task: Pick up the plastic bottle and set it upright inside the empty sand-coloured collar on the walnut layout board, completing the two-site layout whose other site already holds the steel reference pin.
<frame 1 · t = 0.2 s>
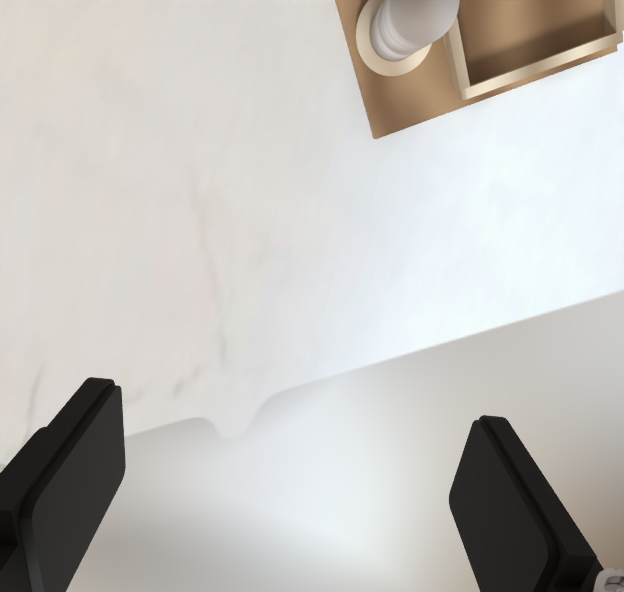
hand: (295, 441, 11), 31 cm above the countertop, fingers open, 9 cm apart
layout board: (470, 5, 34), on the countertop
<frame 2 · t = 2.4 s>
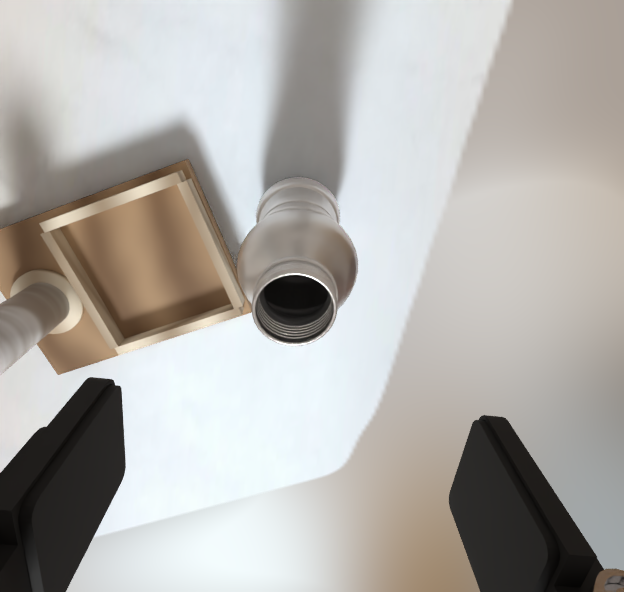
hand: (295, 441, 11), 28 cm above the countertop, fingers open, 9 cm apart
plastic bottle: (298, 210, 37), on the countertop
layout board: (120, 273, 39), on the countertop
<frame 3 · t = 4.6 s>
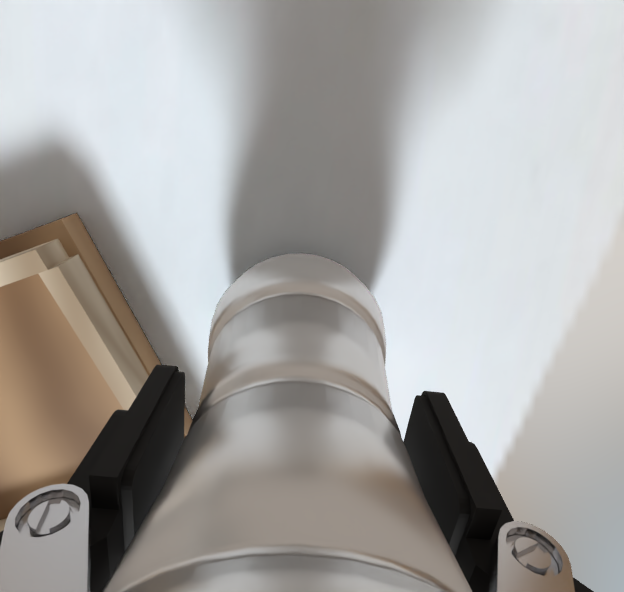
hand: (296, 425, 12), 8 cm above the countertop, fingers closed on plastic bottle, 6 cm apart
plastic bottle: (299, 307, 19), on the countertop, touching gripper
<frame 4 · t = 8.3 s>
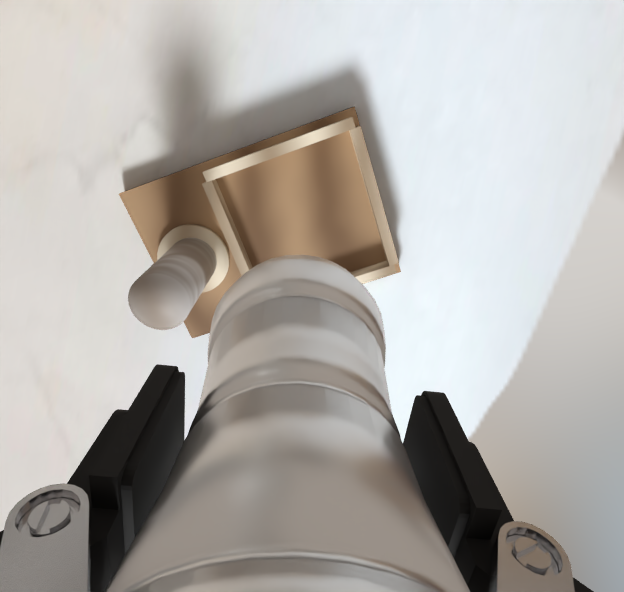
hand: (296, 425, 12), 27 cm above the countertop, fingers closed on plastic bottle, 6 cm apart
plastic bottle: (299, 309, 19), point 19 cm above the countertop, touching gripper
layout board: (266, 230, 38), on the countertop
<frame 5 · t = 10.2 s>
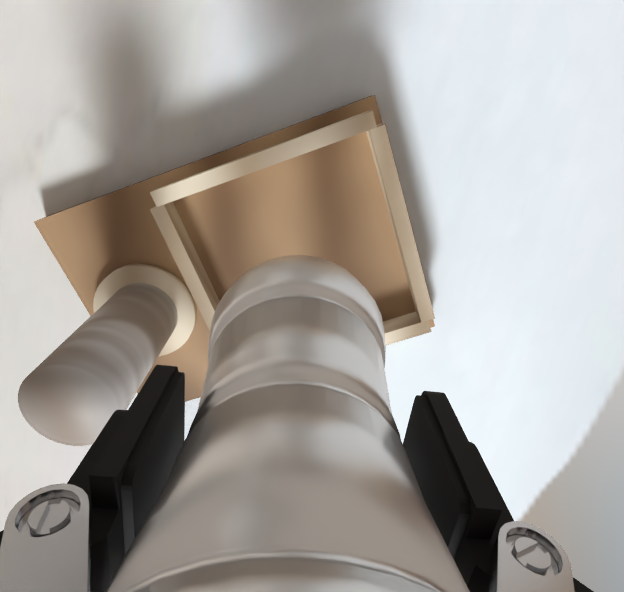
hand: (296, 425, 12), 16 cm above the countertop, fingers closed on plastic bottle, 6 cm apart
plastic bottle: (299, 309, 19), point 8 cm above the countertop, touching gripper
layout board: (248, 270, 27), on the countertop
when the fingers open (10 cm above the countertop, at t = 11.9 s): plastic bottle drops 1 cm, resting on layout board.
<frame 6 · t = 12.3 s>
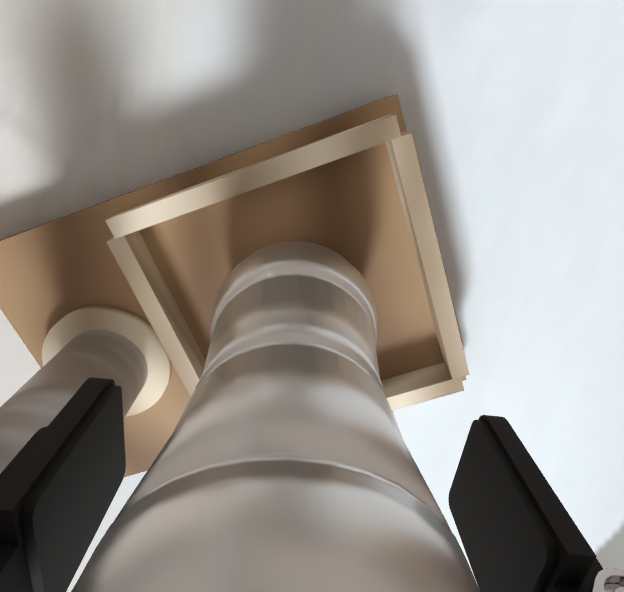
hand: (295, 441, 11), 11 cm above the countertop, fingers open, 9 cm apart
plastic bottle: (297, 294, 20), point 1 cm above the countertop, touching layout board
layout board: (235, 311, 22), on the countertop
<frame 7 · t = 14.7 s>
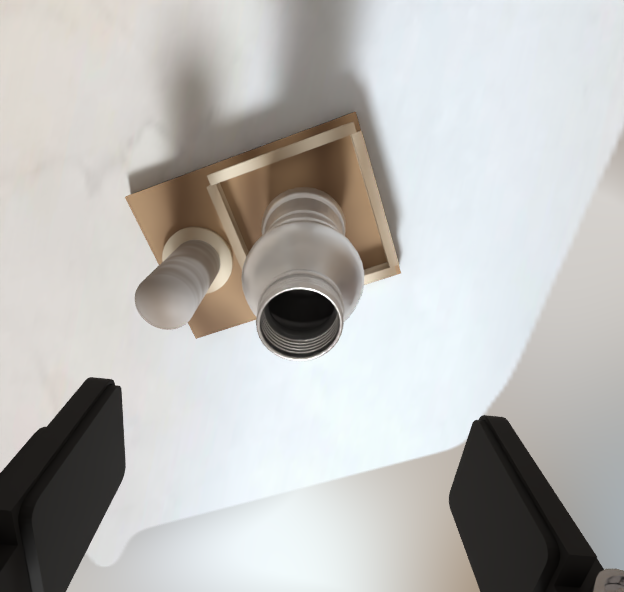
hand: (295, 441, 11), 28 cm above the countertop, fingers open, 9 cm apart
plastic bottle: (304, 220, 37), point 1 cm above the countertop, touching layout board
layout board: (269, 233, 38), on the countertop
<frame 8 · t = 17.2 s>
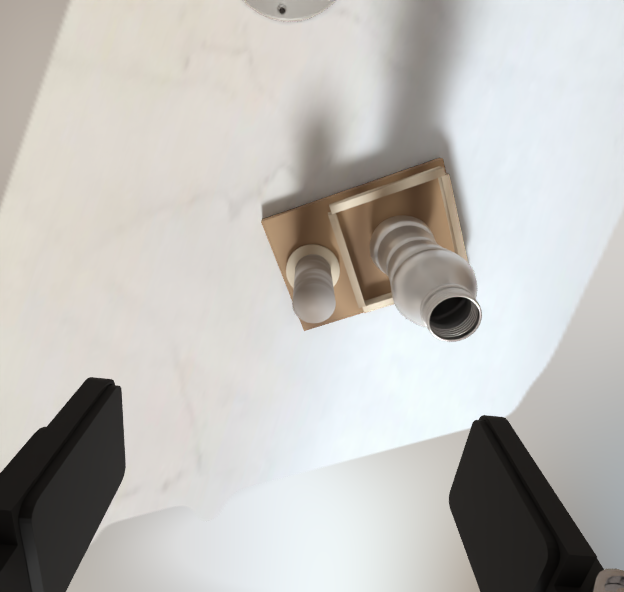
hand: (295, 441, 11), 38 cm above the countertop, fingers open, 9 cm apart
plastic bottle: (396, 239, 48), point 1 cm above the countertop, touching layout board
layout board: (366, 248, 49), on the countertop
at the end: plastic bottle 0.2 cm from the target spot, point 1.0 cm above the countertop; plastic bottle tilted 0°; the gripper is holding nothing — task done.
